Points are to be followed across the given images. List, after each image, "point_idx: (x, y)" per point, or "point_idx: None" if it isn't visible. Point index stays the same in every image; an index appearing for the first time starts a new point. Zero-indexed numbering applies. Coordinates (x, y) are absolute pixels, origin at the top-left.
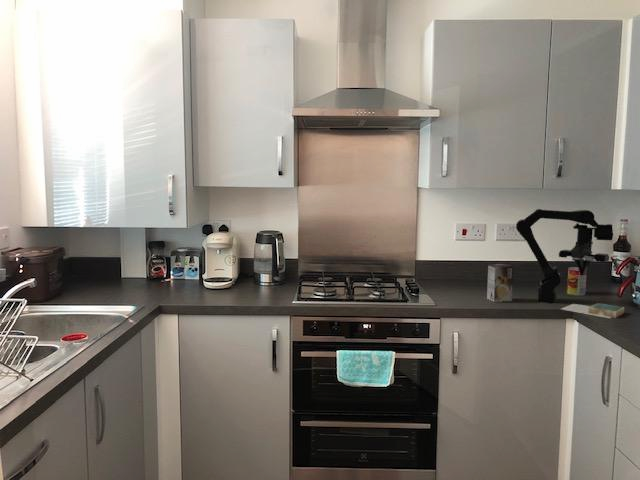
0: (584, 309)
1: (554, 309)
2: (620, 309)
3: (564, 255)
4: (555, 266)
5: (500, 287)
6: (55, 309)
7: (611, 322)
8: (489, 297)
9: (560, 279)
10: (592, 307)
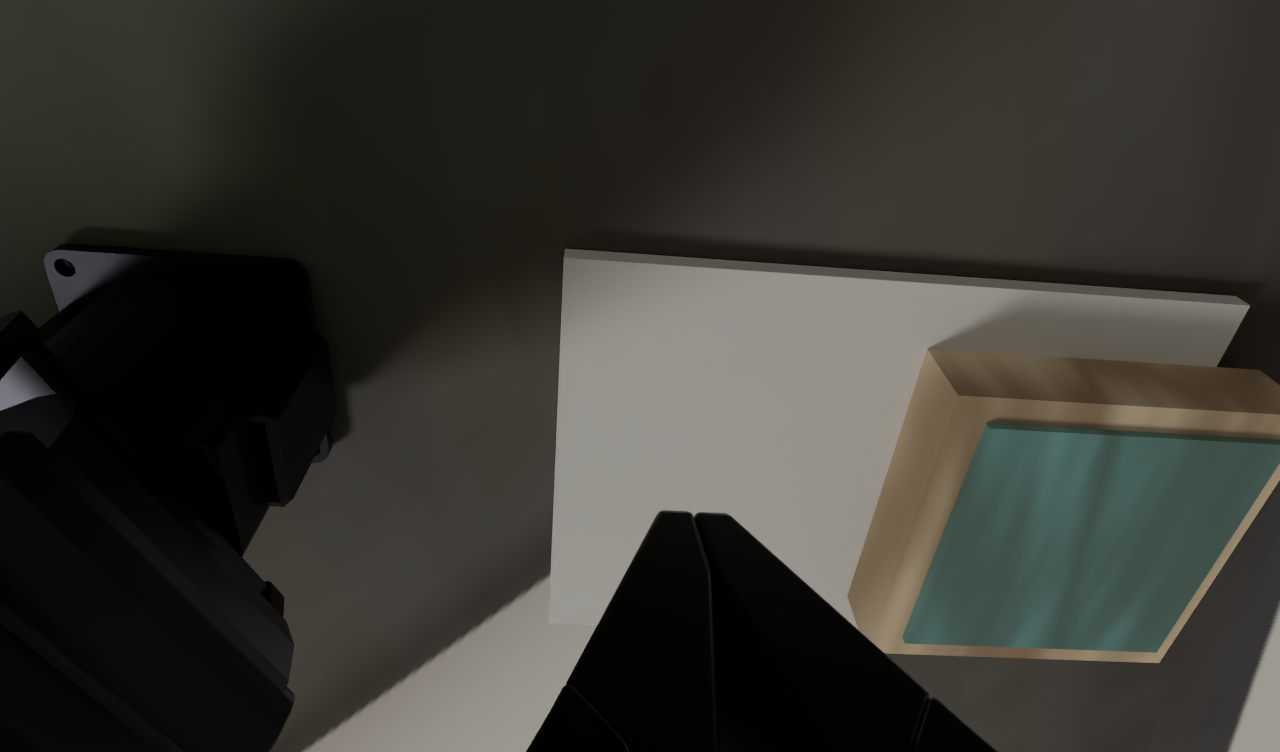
0: (781, 485)
1: (483, 606)
2: (1237, 542)
3: None
4: None
5: None
6: None
7: (1064, 691)
8: None
9: (276, 735)
10: (906, 640)
